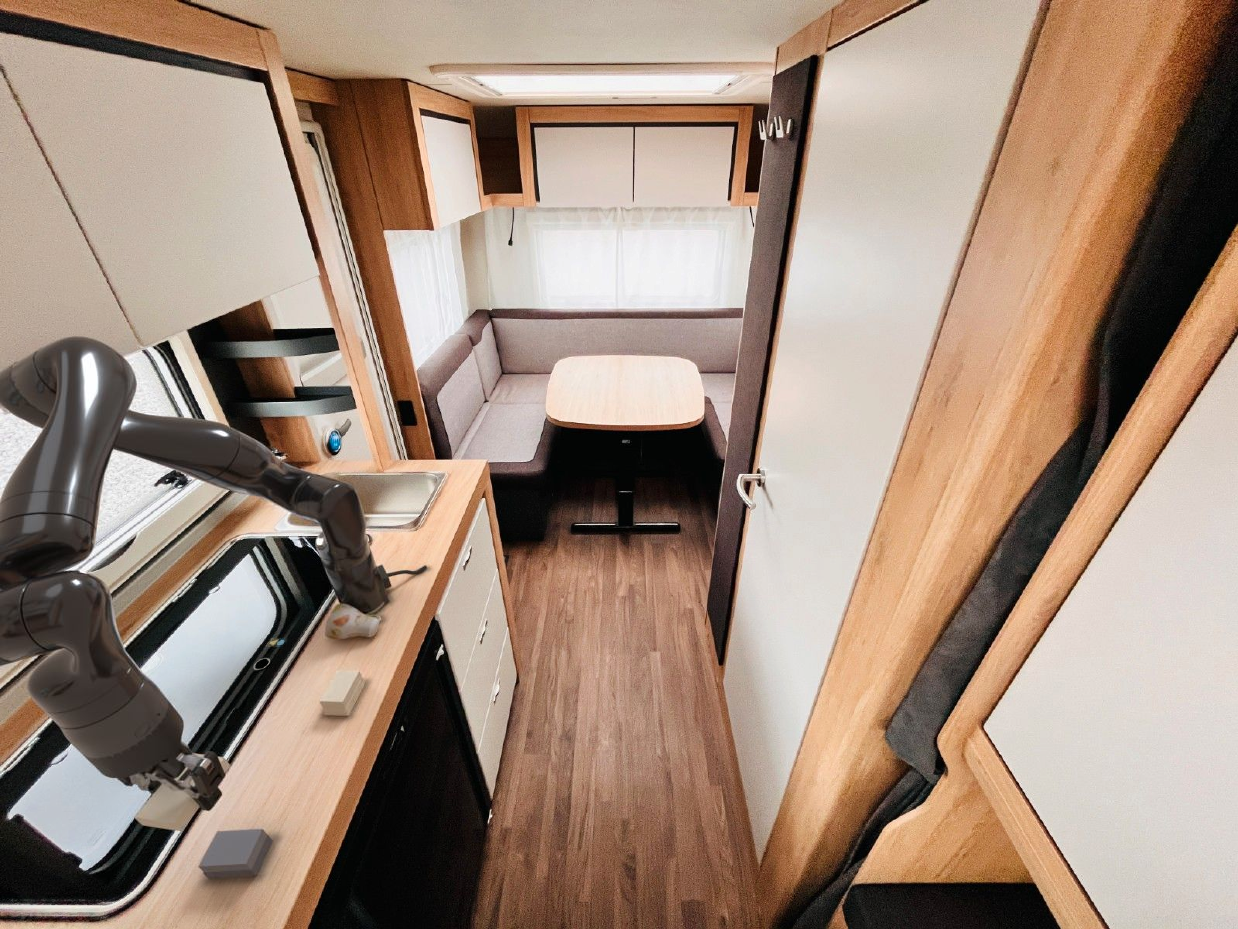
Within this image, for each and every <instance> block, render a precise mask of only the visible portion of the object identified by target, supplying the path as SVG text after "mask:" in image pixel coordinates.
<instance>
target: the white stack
mask: <svg viewBox="0 0 1238 929" xmlns="http://www.w3.org/2000/svg"><path fill="white" fill-rule="evenodd" d="M365 685H366V682H365V679H364V677H363V676H362V673H361V671H360V670H355V669H337V670H336V671H335V673H334V674H333V676H332V678H331V679H330V682H329V683H328V685H327V687H326V689H325V690H324V692H323V694H322V695H321V697H320V699H319V700H318V701H319V703H320V706H321V710H322V711H323V714H324V716H340V717H349V716H350V714H351V713H352V710H353V708H354V706H355V704H356V702H357V701H358V699H359V697H360V695H361V693H362V691H363V689H364V687H365Z"/></svg>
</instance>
